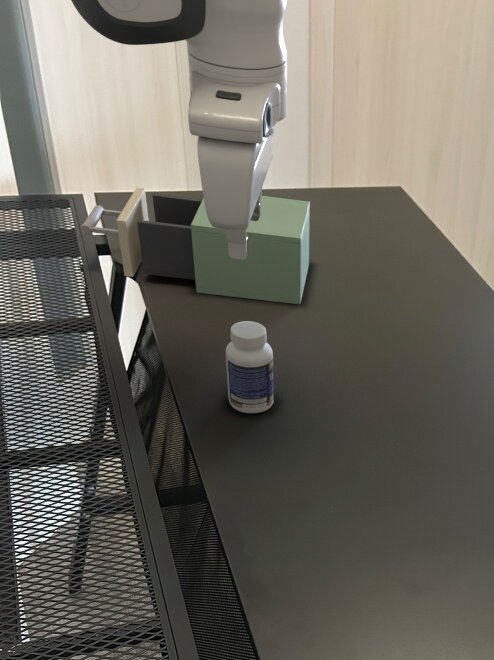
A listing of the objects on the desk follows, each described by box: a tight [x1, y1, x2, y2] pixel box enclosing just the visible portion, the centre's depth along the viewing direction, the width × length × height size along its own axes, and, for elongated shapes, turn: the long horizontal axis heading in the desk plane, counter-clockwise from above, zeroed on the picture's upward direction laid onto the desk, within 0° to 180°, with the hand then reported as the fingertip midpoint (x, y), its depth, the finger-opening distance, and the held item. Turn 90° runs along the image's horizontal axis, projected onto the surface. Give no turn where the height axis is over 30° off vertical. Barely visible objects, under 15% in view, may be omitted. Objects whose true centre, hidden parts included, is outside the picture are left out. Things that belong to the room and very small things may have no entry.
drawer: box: [80, 187, 203, 281], centre depth 121 cm, size 19×11×8 cm, turn 91°
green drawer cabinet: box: [191, 195, 311, 305], centre depth 122 cm, size 15×13×10 cm
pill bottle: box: [225, 320, 275, 414], centre depth 101 cm, size 5×5×10 cm
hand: (245, 236), depth 90 cm, fingers open, 8 cm apart
